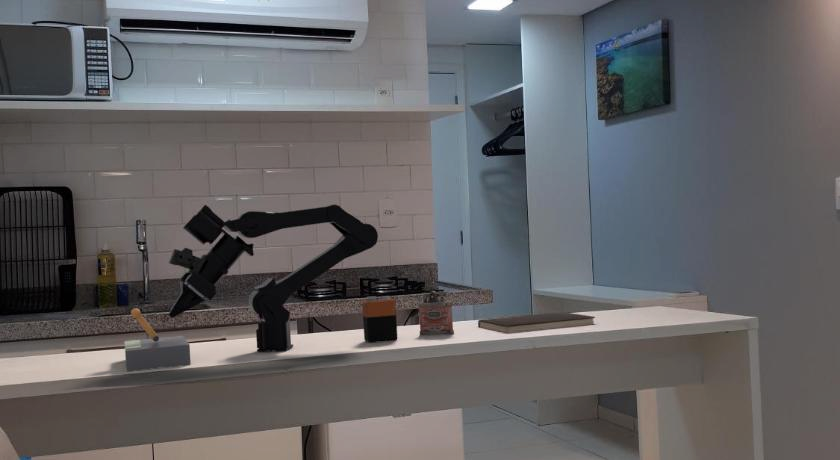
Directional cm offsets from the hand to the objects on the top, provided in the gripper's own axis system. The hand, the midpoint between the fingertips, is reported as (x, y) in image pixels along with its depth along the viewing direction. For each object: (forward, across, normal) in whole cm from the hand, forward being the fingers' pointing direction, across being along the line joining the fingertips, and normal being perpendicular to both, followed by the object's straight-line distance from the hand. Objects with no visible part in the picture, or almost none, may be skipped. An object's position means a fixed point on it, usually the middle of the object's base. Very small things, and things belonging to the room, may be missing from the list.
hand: (170, 316), depth 167 cm
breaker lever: (+5, 0, +1) cm, 5 cm away
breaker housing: (+9, 0, +4) cm, 10 cm away
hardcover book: (-50, +5, +67) cm, 84 cm away
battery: (-24, +3, +39) cm, 46 cm away
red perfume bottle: (-34, +2, +49) cm, 59 cm away
